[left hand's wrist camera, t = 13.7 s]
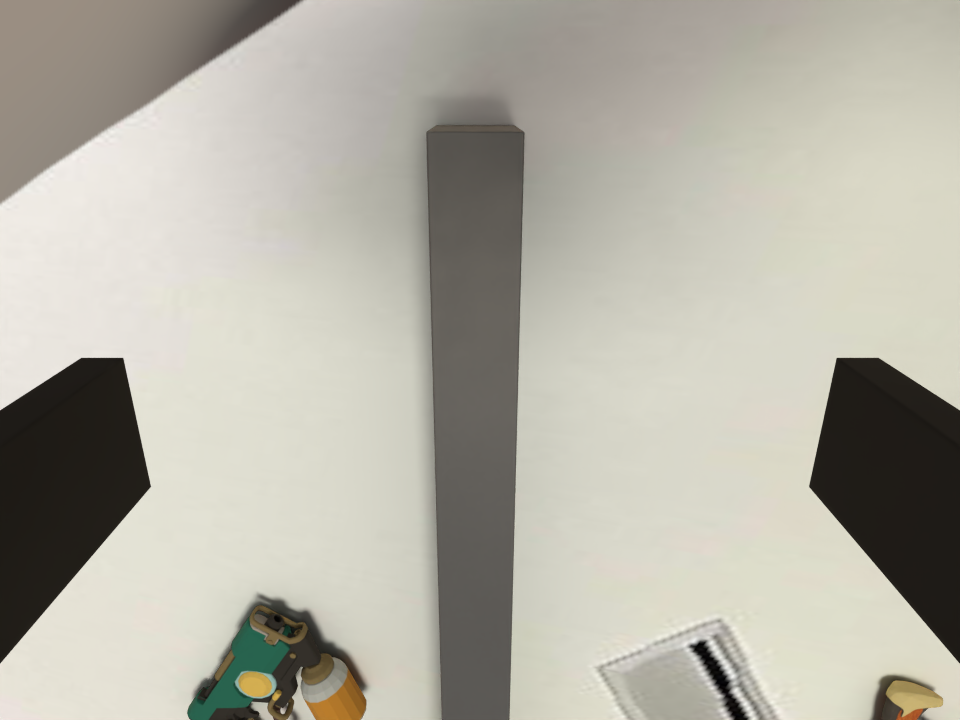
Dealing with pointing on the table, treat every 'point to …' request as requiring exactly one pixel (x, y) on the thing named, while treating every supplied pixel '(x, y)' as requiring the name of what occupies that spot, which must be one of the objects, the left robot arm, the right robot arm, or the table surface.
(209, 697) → the spray gun
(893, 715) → the toy gun
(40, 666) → the table surface
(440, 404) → the beam
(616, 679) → the table surface
